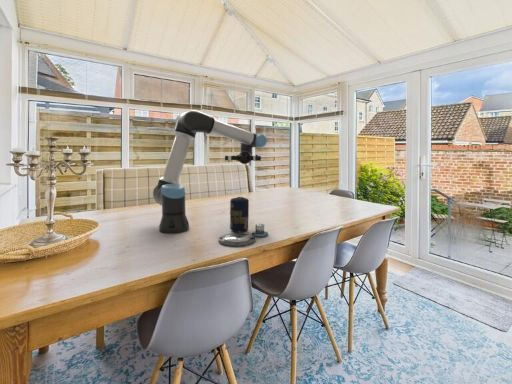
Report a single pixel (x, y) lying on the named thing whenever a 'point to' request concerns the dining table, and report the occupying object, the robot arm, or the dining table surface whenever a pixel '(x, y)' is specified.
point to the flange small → (259, 231)
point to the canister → (239, 214)
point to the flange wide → (236, 240)
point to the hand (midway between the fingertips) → (241, 158)
